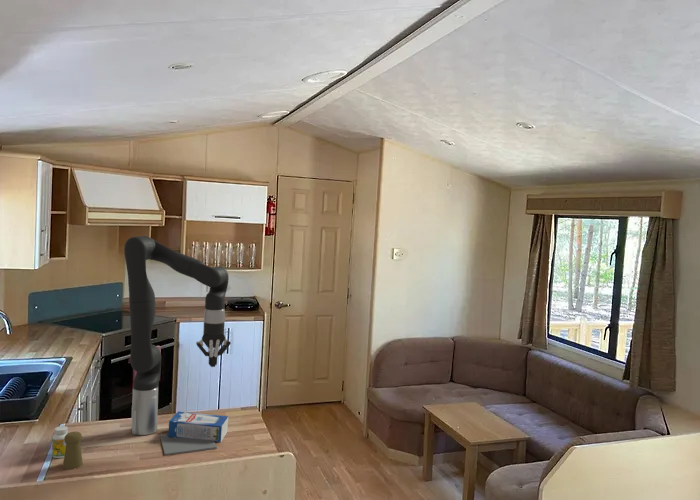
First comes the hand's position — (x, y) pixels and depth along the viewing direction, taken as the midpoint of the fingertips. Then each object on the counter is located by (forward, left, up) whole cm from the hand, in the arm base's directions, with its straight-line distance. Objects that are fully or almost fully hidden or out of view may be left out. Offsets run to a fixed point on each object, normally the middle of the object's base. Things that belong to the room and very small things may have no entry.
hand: (212, 366), depth 206 cm
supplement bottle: (-50, +3, -29) cm, 58 cm away
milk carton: (+6, +1, -25) cm, 26 cm away
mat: (-8, 0, -28) cm, 30 cm away
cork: (-46, -6, -29) cm, 55 cm away
